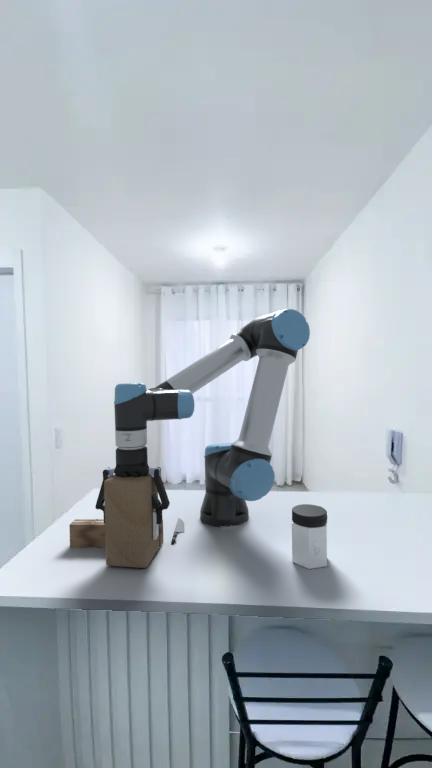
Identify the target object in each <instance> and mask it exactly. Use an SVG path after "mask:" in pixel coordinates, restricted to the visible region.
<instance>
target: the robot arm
mask: <svg viewBox="0 0 432 768" xmlns="http://www.w3.org/2000/svg"><path fill="white" fill-rule="evenodd" d="M306 319H307V318H306V316H304V315H303V314H302V313H301V312H300V311H298V310H296V309H294V308H286V309H279V310H277V311H275V312H271V313H268V314H263V315H260V316H258V317H255V318H254V319H252V320H251V321H249V322H248V323H247V324H246V325H244V326H243V327H241V328H240V329H239V330H237V331H236V332H234V333H232V334H231V335H230V337H229V340H227V341H226V342H225V343H222V344H221V345H220V346H218V347H216V348H215V349H213V350H212V351H210V352H209V353H207V354H206V355H204V356H203V357H200V359H198V360H196V361H194V362H193V363H191V364H190V365H188V366H187V367H185V368H184V369H182V370H181V371H178V373H175V374H174V375H172V376H170V377H169V378H168V379H166V380H164V381H163V382H162V383H160V384H158V385H157V386H155V387H152V388H149V389H147V385H146V384H145V383H144V382H133V383H131V382H128V383H127V382H126V383H125V382H124V383H117V384H116V386H115V387H114V401H113V408H114V427H115V428H114V429H115V430H114V435H115V436H114V437H115V439H114V440H115V442H114V443H115V446H116V449H115V467H113V468H110V467H106V468H105V469H104V470H102V483H101V486H100V489H99V493H98V496H97V500H96V503H95V506H94V507H95V508H94V509H96V510H101V511H102V512H103V519H104V524H105V501H104V481H105V480H107V479H108V478H110V477H111V476H113V475H116V476H121V477H128V476H133V477H140V476H147V475H148V473H150V474H151V476H152V477H153V478H154V482H155V485H156V488H157V491H158V497H157V496H156V494H155V493H153V494H151V495H152V505H153V507H154V508H155V510H154V511H153V540H156V539H157V537H158V535H159V527H158V524H161V523H162V520H163V511H164V510H167V509H168V508H169V506H170V504H171V503H170V500H169V497H168V494H167V490H166V488H165V485H164V484H165V483H164V481H163V478H162V468H161V467H160V466H157V467H150V466H149V463H148V456H149V455H148V447H147V445H148V429H147V428H148V422H153V421H166V420H168V421H169V420H178V421H180V420H182V419H191V417H192V416H193V415H194V412H195V399H194V395H193V394H194V393H196V392H197V391H200V389H203V388H204V387H205V386H206V385H208V384H209V383H211V382H213V380H216V379H217V378H218V377H220V376H221V375H223V374H225V373H226V372H228V371H229V370H230V369H232V368H234V367H235V366H236V365H238V364H239V363H241V362H243V361H244V362H248V361H249V360H251V359H253V358H255V357H257V356H258V362H257V366H256V370H255V373H254V378H253V381H252V386H251V390H250V393H249V397H248V401H247V405H246V409H245V413H244V415H243V416H244V417H243V421H242V425H241V429H240V432H239V436H238V438H237V440H235V441H233V442H225V443H224V442H223V443H222V442H221V443H213V444H209V445H207V446H205V449H204V456H203V458H204V478H205V479H204V481H205V483H204V484H205V491H204V492H205V494H204V496H203V500H202V504H201V507H200V510H199V512H200V513H199V515H200V520H201V521H202V522H203V523H205V524H207V525H210V526H214V527H233V526H239V525H241V524H243V523H245V522H247V521H248V519H249V516H250V515H249V514H250V513H249V508H248V505H247V504H248V503H247V502H257V501H258V500H261V499H263V497H266V496H267V495H268V494H269V493H270V491H271V490H272V488H273V486H274V483H275V480H276V479H275V478H276V477H275V476H276V475H275V471H274V469H273V468H274V467H273V466H272V465H271V461H272V457H273V453H272V452H271V450H270V448H269V446H270V442H271V437H272V434H273V431H274V426H275V422H276V418H277V413H278V410H279V406H280V402H281V397H282V394H283V393H282V392H283V389H284V385H285V382H286V377H287V374H288V369H289V366H290V365H291V364H293V363H295V361H296V359H297V355H298V351H299V350H301V349H303V348H304V347H305V346H306V345H307V344H308V342H309V340H310V335H311V331H310V325H309V322H307V320H306ZM246 501H247V502H246Z"/></svg>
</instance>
